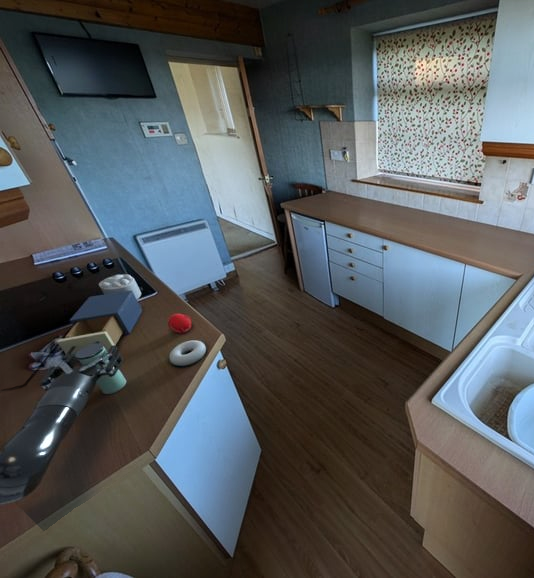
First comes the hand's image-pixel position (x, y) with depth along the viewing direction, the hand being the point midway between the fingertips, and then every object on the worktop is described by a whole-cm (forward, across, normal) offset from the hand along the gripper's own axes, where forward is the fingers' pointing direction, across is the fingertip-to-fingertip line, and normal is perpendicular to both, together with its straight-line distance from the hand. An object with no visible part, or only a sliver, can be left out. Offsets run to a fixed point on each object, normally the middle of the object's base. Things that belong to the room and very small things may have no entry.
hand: (96, 351), depth 79 cm
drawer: (+18, -10, -11) cm, 23 cm away
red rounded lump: (+20, +14, -12) cm, 27 cm away
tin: (-2, 0, -12) cm, 12 cm away
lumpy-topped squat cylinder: (+52, -13, -12) cm, 55 cm away
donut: (+4, +18, -12) cm, 22 cm away
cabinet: (+31, -10, -12) cm, 35 cm away
